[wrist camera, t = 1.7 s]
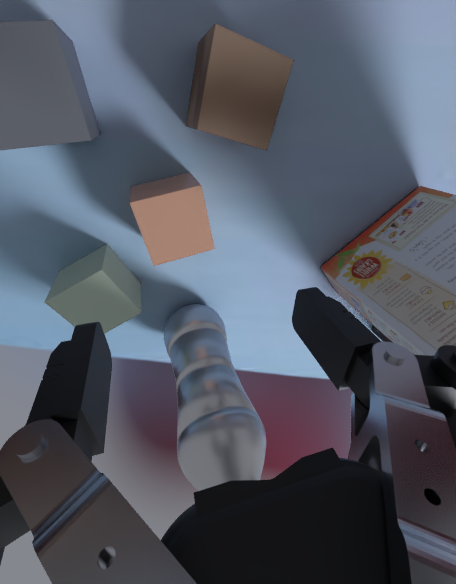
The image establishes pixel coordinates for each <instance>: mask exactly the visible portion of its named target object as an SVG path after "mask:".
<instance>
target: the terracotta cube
mask: <svg viewBox="0 0 456 584" xmlns="http://www.w3.org/2000/svg"><path fill="white" fill-rule="evenodd" d="M130 205H131V208H132V210H133V213H134V216H135V218H136V221H137V224H138V226H139V229H140V231H141V234H142V237H143V239H144V242H145V244H146V247H147V250H148V252H149V255H150V257H151V260H152V263H153V265H154V266H155V265H159V264H163V263H166V262H170V261H173V260H177V259H180V258H184V257H187V256H191V255H195V254H198V253H202V252H205V251H209V250H212V249H215V248H214V243H213V239H212V234H211V229H210V225H209V220H208V215H207V210H206V206H205V201H204V196H203V192H202V187H201V185H200V183H199V182H198V181H197V180H196V179H195V178H194V177H193V175H192V174H191V173H190V172H189V173H185V174H181V175H177V176H172V177H168V178H164V179H160V180H156V181H151V182H147V183H143V184H139V185H135V186H131V190H130Z"/></svg>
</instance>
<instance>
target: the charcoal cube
mask: <svg viewBox="0 0 456 584" xmlns="http://www.w3.org/2000/svg"><path fill="white" fill-rule="evenodd" d="M99 135H100V130H99V127H98V124H97V121H96V117H95V114H94V111H93V107H92V104H91V101H90V98H89V94H88V91H87V88H86V84H85V81H84V78H83V74H82V71H81V68H80V65H79V61H78V58H77V55H76V51H75V48H74V45H73V42H72V40H71V39H70V38H69V37H68V36H67V35H66V34H65V33H64V32H63V31H62V30H61V29H60V28H59V27H58V25H57V24H56V23H55V22H54V21H53V20H37V21H2V22H0V150H8V149H17V148H26V147H36V146H45V145H54V144H64V143H73V142H82V141H92V140H93V139H94V138H96V137H97V136H99Z"/></svg>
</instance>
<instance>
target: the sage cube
mask: <svg viewBox="0 0 456 584" xmlns="http://www.w3.org/2000/svg"><path fill="white" fill-rule="evenodd" d="M45 303H46V304H47V305H49V306H50V307H51V308H52V309H53V310H55V311H56V312H57V313H58V314H60V315H61V316H62V317H63V318H65V319H66V320H67V321H68V322H69V323H71V324H72V325H73V326H74V327H75V326H76V325H80V324H86V323H92V322H100V324H101V326H102V329H103V332H104V333H106V332H108V331H110V330H111V329H113V328H115V327H117V326H119V325H120V324H122V323H124V322H126V321H128V320H129V319H131V318H133V317H135V316H137V315H138V314H140V313H142V306H141V283H140V282H139V281H138V279H137V278H136V277H135V276H134V275H133V273H132V272H131V271H130V270H129V269H128V268H127V266H126V265H125V264H124V263H123V262H122V260H121V259H120V258H119V257H118V256H117V254H116V253H115V252H114V251H113V250H112V249H111V247H110V246H109V245H108V244H106V245H104V246H102V247H100V248H99V249H97V250H95V251H93V252H92V253H90V254H88V255H86V256H85V257H83V258H81V259H79V260H78V261H76V262H74V263H72V264H70V265H69V266H67V267H65V268H63V269H62V270H60V271H59V273H58V275H57V277H56V279H55V281H54V283H53V285H52V287H51V289H50V292H49V294H48V296H47V298H46V300H45Z"/></svg>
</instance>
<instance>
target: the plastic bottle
mask: <svg viewBox="0 0 456 584" xmlns="http://www.w3.org/2000/svg"><path fill="white" fill-rule="evenodd" d="M164 342H165V346H166V349H167V352H168V355H169V357H170V359H171V362H172V366H173V370H174V374H175V378H176V387H177V400H178V433H177V441H178V443H177V452H178V453H177V454H178V462H179V464H180V467H181V469H182V471H183V473H184V475H185V477H186V478H187V479H188V480H189V481H190V482H191V484H192V485H193V486H194V487H195V488H196V489H197V490H198V491H200V490H204V489H207V488H210V487H213V486H216V485H219V484H222V483H225V482H228V481H231V480H260V477H261V473H262V468H263V464H264V458H265V450H266V436H265V429H264V426H263V424H262V422H261V420H260V418H259V416H258V415H257V412H256V410H255V409H254V407H253V405H252V403H251V402H250V400H249V398H248V396H247V395H246V393H245V391H244V389H243V387H242V385H241V383H240V381H239V379H238V376H237V374H236V372H235V369H234V367H233V365H232V361H231V357H230V353H229V350H228V346H227V338H226V330H225V326H224V322H223V321H222V319H221V318H220V316H219V315H218V313H217V312H216V311H215V310H214V309H212V308H210V307H208V306H205V305H200V304H192V305H187V306H184V307H182V308H180V309H179V310H177V311H176V312H175V313H174V314H173V315H172V316H171V317H170V318H169V319H168V321H167V323H166V326H165V332H164Z"/></svg>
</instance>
